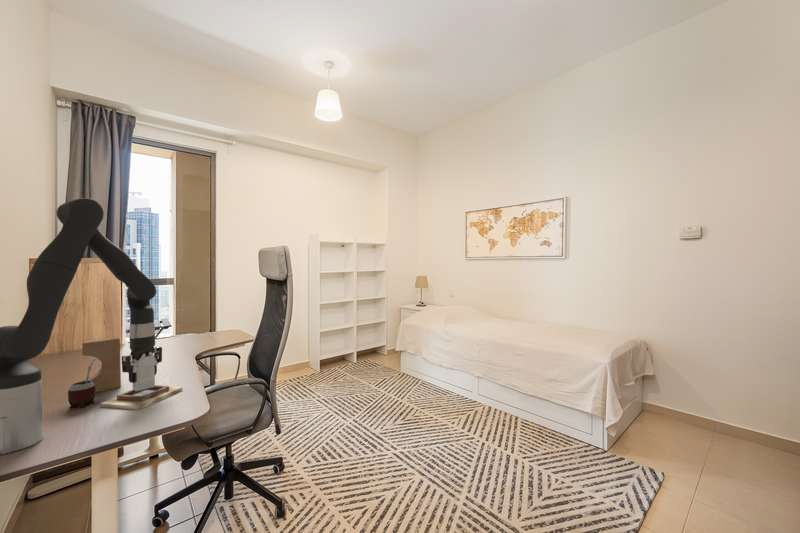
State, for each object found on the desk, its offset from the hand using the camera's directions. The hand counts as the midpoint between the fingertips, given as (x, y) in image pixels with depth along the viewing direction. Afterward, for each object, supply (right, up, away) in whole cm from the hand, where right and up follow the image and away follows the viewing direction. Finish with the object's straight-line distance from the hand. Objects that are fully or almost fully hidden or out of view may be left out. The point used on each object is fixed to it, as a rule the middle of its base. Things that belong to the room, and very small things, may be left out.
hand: (143, 378), depth 123 cm
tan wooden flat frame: (0, -7, 0) cm, 7 cm away
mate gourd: (-17, -8, -5) cm, 20 cm away
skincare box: (0, -4, 0) cm, 4 cm away
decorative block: (-24, -8, +9) cm, 26 cm away
